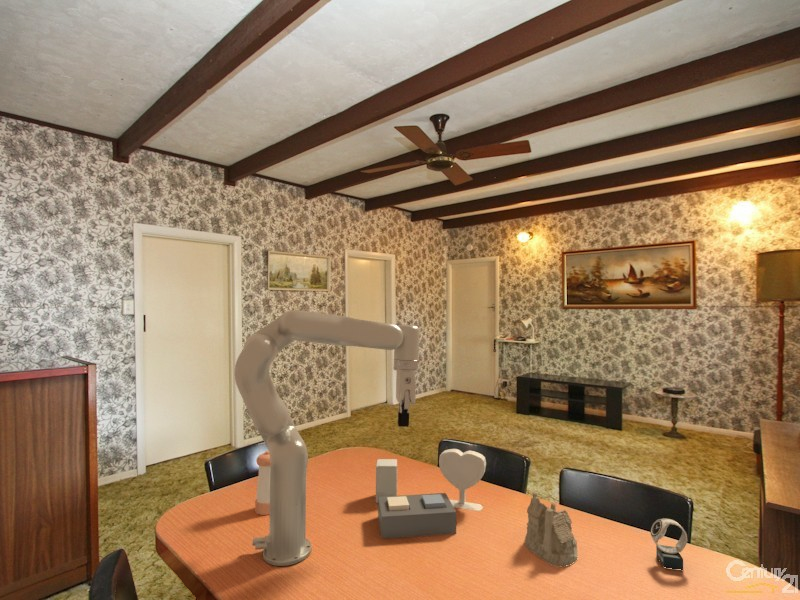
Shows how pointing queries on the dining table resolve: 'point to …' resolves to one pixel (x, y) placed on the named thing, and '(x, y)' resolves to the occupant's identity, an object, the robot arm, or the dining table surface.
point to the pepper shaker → (263, 484)
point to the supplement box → (386, 478)
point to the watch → (667, 553)
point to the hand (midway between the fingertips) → (403, 425)
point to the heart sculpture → (462, 473)
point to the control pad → (416, 518)
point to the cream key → (397, 503)
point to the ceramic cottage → (550, 534)
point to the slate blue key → (433, 501)
